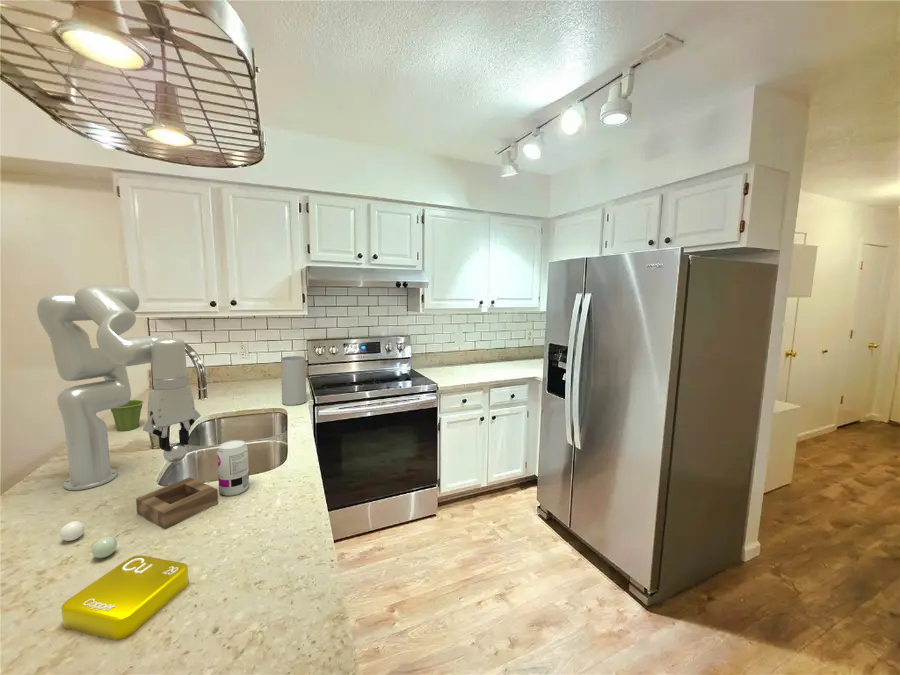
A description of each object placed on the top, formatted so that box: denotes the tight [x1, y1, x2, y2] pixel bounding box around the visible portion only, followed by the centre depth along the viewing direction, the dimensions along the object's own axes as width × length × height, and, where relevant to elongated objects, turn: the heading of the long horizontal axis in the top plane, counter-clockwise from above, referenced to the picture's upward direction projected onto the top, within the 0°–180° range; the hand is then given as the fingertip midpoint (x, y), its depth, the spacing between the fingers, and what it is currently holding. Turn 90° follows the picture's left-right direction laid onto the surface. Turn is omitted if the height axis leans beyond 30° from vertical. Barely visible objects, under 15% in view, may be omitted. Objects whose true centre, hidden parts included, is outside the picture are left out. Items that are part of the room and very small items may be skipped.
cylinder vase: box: [280, 355, 307, 406], centre depth 208 cm, size 12×12×25 cm
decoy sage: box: [91, 536, 118, 559], centre depth 89 cm, size 4×4×4 cm
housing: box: [135, 476, 219, 530], centre depth 108 cm, size 14×14×4 cm
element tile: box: [61, 555, 189, 640], centre depth 77 cm, size 15×15×5 cm
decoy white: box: [59, 520, 86, 542], centre depth 94 cm, size 4×4×4 cm
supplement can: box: [216, 439, 250, 497], centre depth 118 cm, size 8×8×15 cm
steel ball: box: [163, 442, 188, 463], centre depth 107 cm, size 5×5×5 cm
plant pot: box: [110, 399, 145, 432], centre depth 166 cm, size 12×12×11 cm
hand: (174, 446), depth 106 cm, fingers closed on steel ball, 4 cm apart
